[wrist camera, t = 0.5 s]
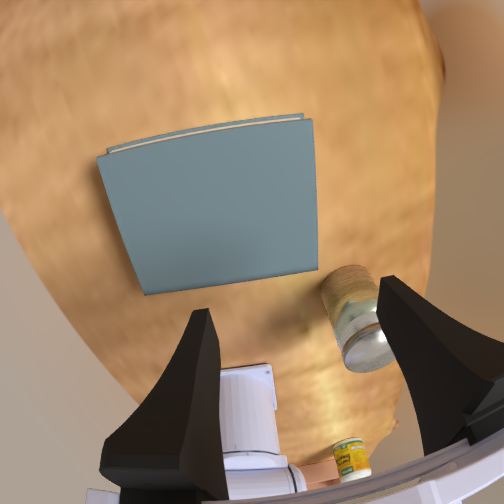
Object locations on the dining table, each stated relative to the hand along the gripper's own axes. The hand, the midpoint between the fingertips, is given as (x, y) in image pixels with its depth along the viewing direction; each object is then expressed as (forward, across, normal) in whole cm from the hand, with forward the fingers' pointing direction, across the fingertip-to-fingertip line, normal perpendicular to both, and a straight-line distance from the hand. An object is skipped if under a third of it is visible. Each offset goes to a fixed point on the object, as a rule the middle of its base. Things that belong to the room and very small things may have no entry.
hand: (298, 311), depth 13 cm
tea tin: (+10, -6, +8) cm, 14 cm away
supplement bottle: (+10, -9, +45) cm, 47 cm away
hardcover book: (+10, +3, -1) cm, 10 cm away
